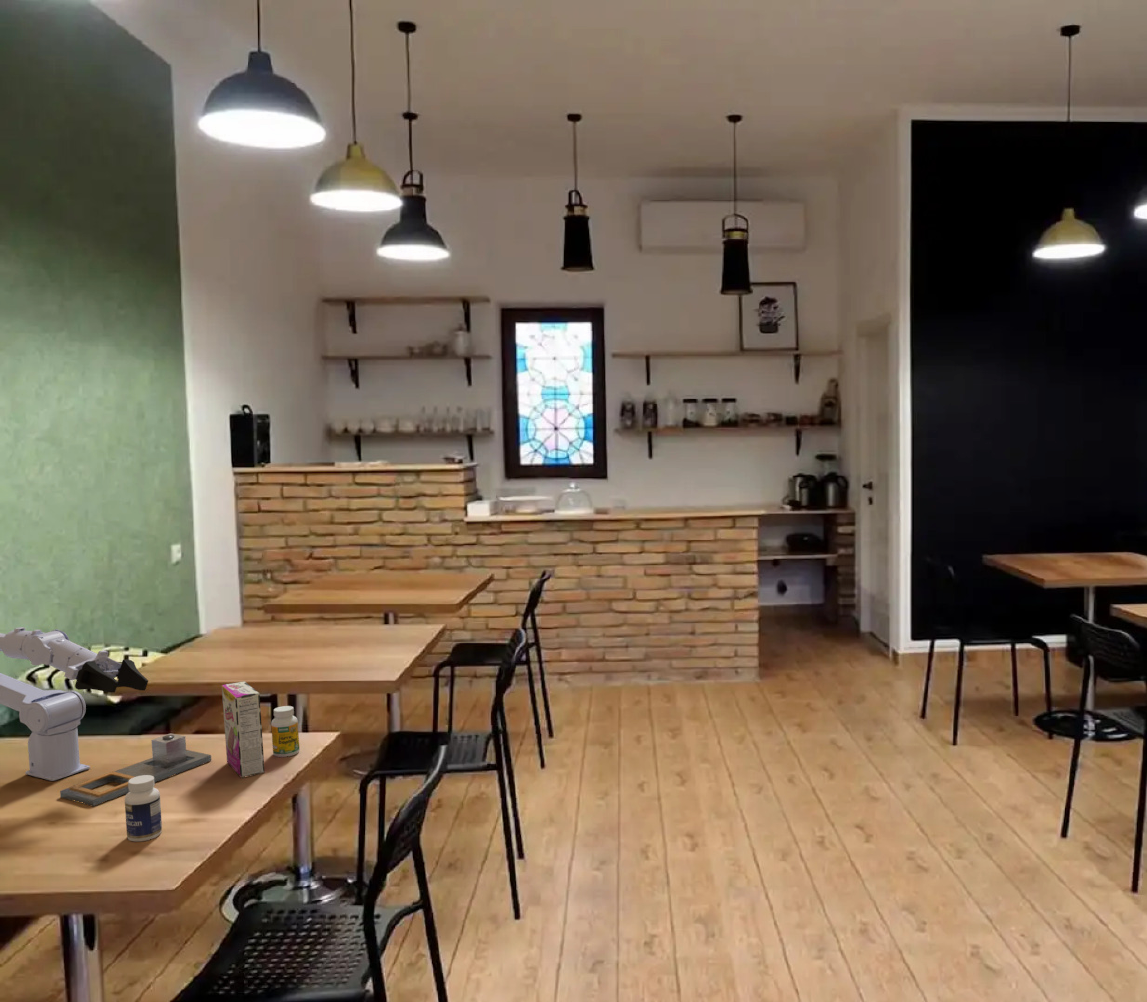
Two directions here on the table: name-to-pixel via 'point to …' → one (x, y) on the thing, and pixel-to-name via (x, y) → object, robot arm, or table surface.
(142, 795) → the pill bottle
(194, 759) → the rail
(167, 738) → the metal block with knob
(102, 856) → the table surface
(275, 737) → the supplement bottle
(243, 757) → the candy bar box
